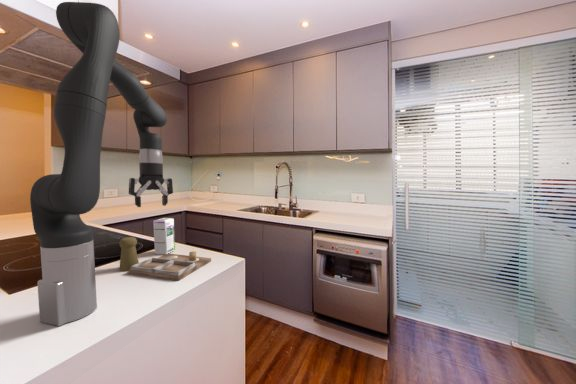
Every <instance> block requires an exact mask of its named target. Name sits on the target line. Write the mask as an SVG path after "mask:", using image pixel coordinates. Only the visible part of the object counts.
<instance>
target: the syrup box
mask: <svg viewBox="0 0 576 384" xmlns="http://www.w3.org/2000/svg"><path fill="white" fill-rule="evenodd" d="M174 219H175V218H174V217H162V218H159V219H156V220H155V219H154V220H153V224H152V225H153V243H154V254H155V255H163V254H168V253H169V254H171V253H173V252H175V251H176V240H175V239H176V237H175V220H174ZM174 250H175V251H174ZM172 251H173V252H172ZM170 252H171V253H170Z"/></svg>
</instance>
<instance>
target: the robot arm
mask: <svg viewBox="0 0 576 384" xmlns="http://www.w3.org/2000/svg"><path fill="white" fill-rule="evenodd" d="M55 15H56V16H55V17H56V20H57V23H58V25H59V27H60V29H61V31H62V32H63V33H64V35H65V36H66V37H67V39H69V41H70V42H71V43H72V44H73V45H74V46H75V47H76V48H77V49H78V51H80V52H81V53H82V55H81V57H80V59H79V60H77V62H76V63H75V64H74V65H73V67H72V68H70V70H68V71H67V73H66V74H65V75H64V76H63V78H62V79H61V80H60V82H59V83H58V85H57V89H56V93H55V100H54V107H53V116H54V122H55V125H56V128H57V130H58V132H59V134H60V135H59V136H60V137H61V140H62V142H63V147H64V149H63V150H64V157H63V164H62V168H61V169H62V170H61V173H53V174H46V175H43V176H41V177H39V178H38V179H37V180H36V181H34V182H33V185H32V186H31V190H30V196H29V197H30V198H29V201H30V203H29V204H30V209H31V218H32V226H33V230H34V231H33V232H35V235H36V236H37V238H38V241H39V245H40V247H39V248H40V263H41V278H42V279H38V281H37V297H38V310H39V313H38V315H39V322H40V323H45V324H49V325H52V326H55V327H56V326H57V327H60V326H62V325H64V324H67V323H70V322H74V321H78V320H80V319H82V318H85V317H86V316H89V315H90V314H92V313H93V312H94V311H95V310H97V308H98V304H97V302H98V301H97V285H96V284H97V283H96V281H97V280H96V279H97V278H96V265H95V263H96V262H95V246H94V245H95V243H94V230H93V229H92V227H91V226H89V225H88V224H86V223H85V222H84V221H83V220H82V218H81V215H85V214H86V213H89V212H90V211H91V210H93V209H94V208H95V207H96V205H97V203H98V201H99V198H100V193H101V192H100V191H101V152H102V144H103V134H104V133H103V132H104V126H105V122H106V114H107V106H108V95H109V94H108V93H109V87H110V82H111V84H112V85H113V86H114V88H116V90H117V91H118V92H119V94H120V95H121V97H122V98H123V99H124V100H125V102H126V103H127V105H129V107H130V108H132V109H133V110H134V111H133V115H132V116H133V121H134V123H135V127H136V130H137V133H138V138H139V156H138V157H139V158H138V163H139V165H138V167H139V177H138V178H134V177H130V178H129V179H128V180H129V181H128V195H130V196H133V197H134V205H135V206H136V207H137V208H141V207H142V203H141V202H142V197H141V196H142V194H143V193H144V192H145V191H151V190H154V191H155V190H156V191H159V192H160V193H161V194H162V196H161V205H162V206H167V205H168V203H169V202H168V198H169V197H168V196H169V195H172V194H174V187H173V179H172V178H170V177H168V178H165V177H164V169H163V167H164V166H163V165H164V164H163V163H164V162H163V161H164V160H163V151H162V150H163V148H162V147H163V144H162V143H163V142H162V136H161V135H160V134H158V133H154V132H151V131H150V128H162V127H165V126H166V124H167V122H168V116H167V113H166V112H165V110H164V108H162V107H161V105H160V104H158V102H157V101H156V100H154V99H153V98H152V97H151V96H150V95H149V94H148V92H147V90H146V89H145V87H144V86H143V84H142V83H141V81H140V80H139V78H138V77H137V76H136V75H134V73H133V72H131V71H130V70H129V69H127V68H126V67H125V66H124V65H122V64H121V63H120V62H119V61H117V60H116V56H117V53H118V52H117V51H118V49H119V44H120V36H121V35H120V33H121V32H120V26H119V22H118V19H117V17H116V15H115V14H114V12H113V11H112V10H111V9H110V8H109V7H108V6H106V5H103V4H101V3H95V2H84V1H83V2H82V1H79V2H78V1H64V2H60V3H59V4H58V5H57V6H56V10H55ZM137 183H139V184H140V186H139V187H138V189H137V190H136V191H135V186H136V184H137ZM164 183H165V185H166V189H167V190H166V189H165V187H164V186H163V184H164Z"/></svg>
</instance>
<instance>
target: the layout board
mask: <svg viewBox="0 0 576 384" xmlns="http://www.w3.org/2000/svg"><path fill="white" fill-rule="evenodd" d="M211 262H212V257H206V256H205V257H203V256H197V251H190V252H189V253H188V255H186V254H185V255H184V254H176V253H175V254H174V253H169V254H165V255H163V254H162V256H161V255H160V256H157V257H150V258H148V259H145V260H143V261H140V262H139V263H138V264H135V265H133V266H131V269H130V270H128V271H127V273H128V274H129V275H136V276H143V277H150V278H157V279H165V280H171V281H181V280H183V279H184V278H186V277H187V276H189V275H191V274H192V273H194V272H196V271H197V270H199V269H200V268H202V267H204V266H206V265H207V264H209V263H211Z"/></svg>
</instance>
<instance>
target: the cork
mask: <svg viewBox="0 0 576 384" xmlns="http://www.w3.org/2000/svg"><path fill="white" fill-rule="evenodd" d="M137 244H138V240H137V238H136V237H133V236H126V237H123V238H121V239H120V240H119V247H120V248H121V251H120V259H119V269H118V270H119V272H128V270H130V269H131V266H133V265H135V264H138V263H140V262H139V258H138V253H137V248H136V246H137Z"/></svg>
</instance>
